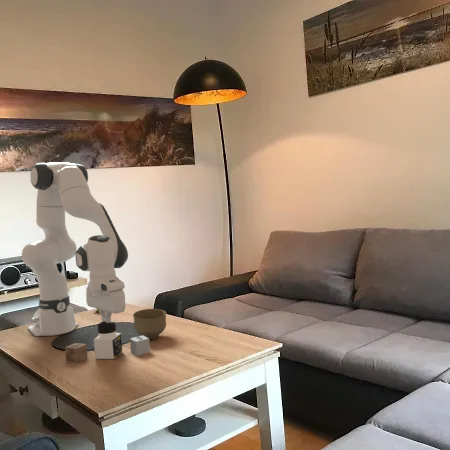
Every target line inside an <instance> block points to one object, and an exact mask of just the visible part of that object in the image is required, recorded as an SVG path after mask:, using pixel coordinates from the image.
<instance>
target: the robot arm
mask: <svg viewBox="0 0 450 450" xmlns="http://www.w3.org/2000/svg"><path fill="white" fill-rule="evenodd" d="M88 180H89V173H88V170H87V169H86V167H85V166H84V165H83V164H79V163H75V162H74V163H71V162H63V161H62V162H47V163H45V162H38V163H35V164H34V165H33V166H32V168H31V170H30V183H31V185H32V186H33V188H34V189H36V190H37V194H36V215H35V216H36V220H35V221H36V225H37V226H38V228H40V229H41V230H42V231H43V232H44V237H45V239H40V240H34V241H33V242H30V243H28V244H26V245H25V246H24V247H23V248H22V251H21V259H22V262H23V263H24V265H26V266H27V267H28V268H30V269H31V271H33V273H34V275H35V276H36V280H37V282H38V289H39V296H40V298H39V299H38V309H37V310H36V312H35V313H34V314H33V316H32V318H31V320H30V321H31V324H32V325H31V324H30V325H29V326H28V327H27V330H28V331H29V332H30V333H31V334H32V335H33V336H34V337H42V336H44V337H45V336H57V335H62V334H63V335H64V334H67V333H70V332H72V331H74V330H75V329H76V328H77V327H78V326H79V323H78V322H76V319H75V313H74V312H75V311H74V308H73V307H72V306H71V305H70V304H71V299H70V296H69V292H68V291H69V290H68V280H67V278H66V276H65V275H64V274H62V273H61V272H60V270H58V266H57V264H61V263H65V262H68V261H69V260H71V259H72V258H74V257H75V265H76V267H77V268H78V269H80V270H81V271H83V272H89V282H88V283H87V287H86V292H85V294H86V296H85V297H86V305H87V306H88V307H91V308H94V309H96V308H97V309H99V310H98V313H99V314H100V317H101V322H106V323H109V322H111V321H112V318H111V317H112V314H120V313H124V312H125V310H126V295H125V291H124V290H125V287H126V286H125V282H123V281H122V280H121V279H120V278H119V277H118V276H117V273H116V269H121V268H122V267H123V266H124V265H125V264H126V262H127V261H128V259H129V252H128V251H129V250H128V249H127V246H126V245H125V243H124V242H123V241H122V239H121V237H120V235H119V233H118V232H117V230H116V227H115V225H114V223H113V221H112V220H111V217H110V215H109V214H108V211H107V209H106V208H105V206H104V204H102V203H100V202H99V201H97V200H96V198H95V197H93V195H92V193H91V191H90V187H89V184H88ZM66 213H67V214H68V215H70V216H72V217H74V218H78V219H80V220H81V219H83V220H86V221H89V222H92V223H94V224H96V226H98V227H99V229H100V231H101V235H99V234H98V235H97V234H96V235H92V236H90V237H89V238H88V239H87V243H84V245H80V246H79V247H78V249H77V244H76V242H75V241H74V239H73V238H71V237H70V234H69V232H68V229H67V226H66ZM97 309H96V310H97Z"/></svg>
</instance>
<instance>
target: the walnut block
mask: <svg viewBox="0 0 450 450" xmlns="http://www.w3.org/2000/svg"><path fill="white" fill-rule="evenodd" d="M87 347H88V346H87V344H86V343H82V342H73V343H72V344H70V345H67V346H65V347H64V349H65V361H66V362H71V363H75V364H77V363H80V362H82V361H84V360H86V359H89V357H88V348H87Z"/></svg>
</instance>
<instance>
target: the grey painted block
mask: <svg viewBox="0 0 450 450" xmlns="http://www.w3.org/2000/svg"><path fill="white" fill-rule="evenodd" d="M129 343H130V353H132V354H133V355H135V356H141V355H144V354H149V353H151V349H150V347H151V346H150V339H149V338H147V337H145V336H143V335H142V336H141V335H139V336H134V337H130V338H129Z"/></svg>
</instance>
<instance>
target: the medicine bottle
mask: <svg viewBox="0 0 450 450" xmlns="http://www.w3.org/2000/svg"><path fill="white" fill-rule="evenodd" d="M116 328H117V325H116V321H113V320H111V322H109V323H106V322H103V321H101V322H99V323H98V324H97V333H98V335H97V336H96V337H95V338H93V347H94V349H93V350H94V358H95V359H96V360H115V359H116V358H117V357H118V356H120V355H121V354H122V353H123V343H122V333H121V332H117V329H116Z"/></svg>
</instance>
